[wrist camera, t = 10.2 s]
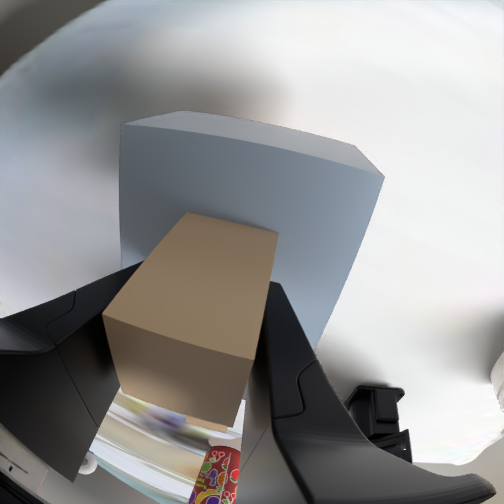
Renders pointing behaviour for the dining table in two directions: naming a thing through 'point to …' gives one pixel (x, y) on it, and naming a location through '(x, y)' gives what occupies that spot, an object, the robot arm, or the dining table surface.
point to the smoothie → (217, 477)
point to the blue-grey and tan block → (226, 249)
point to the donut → (89, 464)
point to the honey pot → (498, 380)
